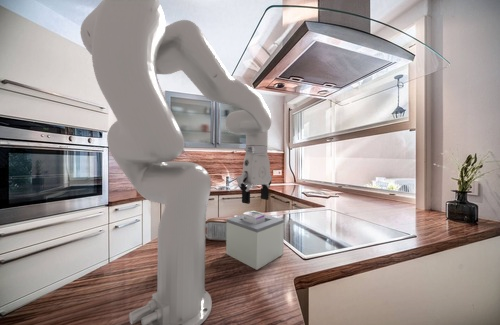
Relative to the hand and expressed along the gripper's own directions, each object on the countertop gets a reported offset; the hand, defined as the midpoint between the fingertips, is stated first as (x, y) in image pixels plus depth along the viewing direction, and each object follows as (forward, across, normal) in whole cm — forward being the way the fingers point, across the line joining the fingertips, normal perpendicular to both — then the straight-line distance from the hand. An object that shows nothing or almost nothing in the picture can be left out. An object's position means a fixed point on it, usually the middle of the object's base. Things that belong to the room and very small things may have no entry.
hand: (255, 201), depth 67 cm
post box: (+18, 0, 0) cm, 18 cm away
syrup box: (+18, -1, 0) cm, 19 cm away
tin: (+19, -1, +18) cm, 26 cm away
